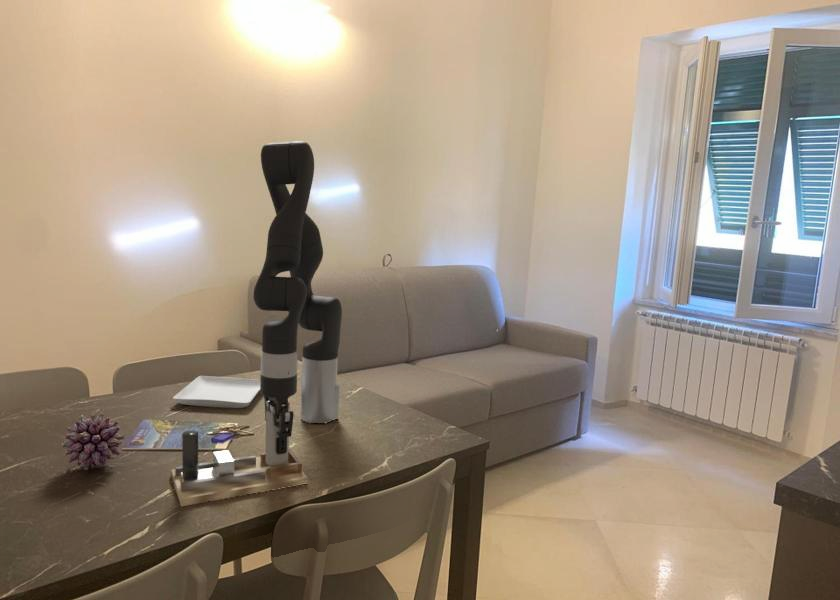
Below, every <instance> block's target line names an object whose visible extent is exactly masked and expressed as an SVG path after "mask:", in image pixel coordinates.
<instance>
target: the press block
mask: <svg viewBox="0 0 840 600" xmlns="http://www.w3.org/2000/svg"><path fill="white" fill-rule="evenodd" d="M181 437H182V439H181V442H182V444H181V446H182V447H181V449H182V451H181V453H182V454H181V455H182V463H181V466H182V472H181V478H182V481H183V482H188V481H194V480H200V479H207V478H213V477H219V476H226V475H232V474H234V458H233V455H232V454H231V453H230V451H229V450H228V449H225V450H217V451H213V452H212V455H213V457H212V462H213V467H212V468H206V469H199V470H198V464H199V432H198V431H197V430H187V431H184V432H182V435H181Z"/></svg>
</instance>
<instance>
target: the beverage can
mask: <svg viewBox="0 0 840 600" xmlns="http://www.w3.org/2000/svg"><path fill="white" fill-rule="evenodd" d="M272 419H273V417H272V413H271V412H270V409H269V410H268V409H267V412H266V420H265V453H266V457H265V462H266V463H267V465H269V466H271V467H272V466H278V465H285V464H287V462H288V451H289V449H290V448H289V447H290V446H289V445H290V444H289V443H290V442H289V441H290V440H289V439H290V437H287V452H286V453H285V454H277V453H276V436H275V434H276V433H275V427H274V426H273V424H272ZM276 421H277V422H279V421H280V419H277V418H276ZM283 431H285V429H283Z"/></svg>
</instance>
